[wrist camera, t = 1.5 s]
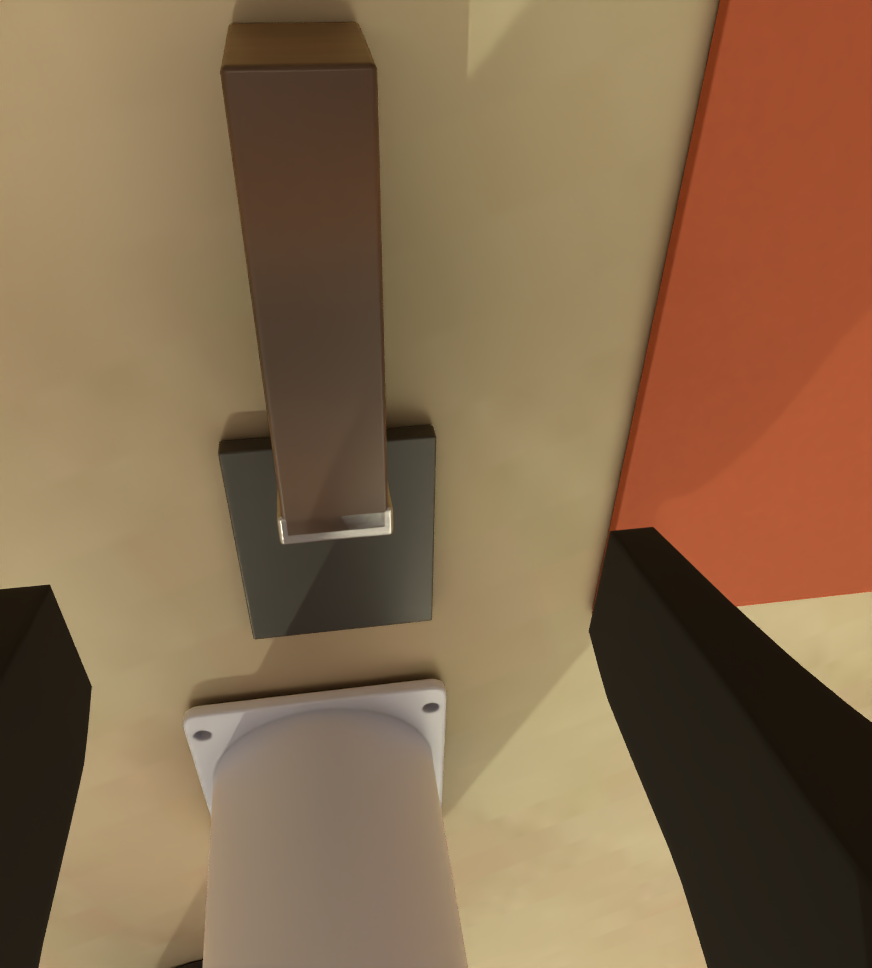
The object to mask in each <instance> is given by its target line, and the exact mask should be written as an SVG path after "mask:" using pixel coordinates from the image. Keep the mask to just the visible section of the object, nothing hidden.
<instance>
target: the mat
mask: <svg viewBox="0 0 872 968" xmlns="http://www.w3.org/2000/svg"><path fill="white" fill-rule="evenodd" d="M646 527H654V528H655V529H656V530H657V531H658V532H659V533H660V534H661V535H662V536H663V537H664V538H665V539H666V540H667V541H668V542H670V543H671V544H672V545H673V546H674V547H675V548H676V549H677V550H678V551H679V552H680V553H681V554H682V555H683V556H684V557H685V558H686V559H687V560H688V561H689V562H690V563H691V564H692V565H693V566H694V567H695V568H696V569H697V570H698V571H699V572H700V573H701V574H702V575H703V576H704V577H706V578H707V579H708V580H709V581H710V582H711V583H712V584H713V585H714V586H715V587H716V588H717V589H718V590H719V591H720V592H721V593H722V594H723V595H724V596H725V597H726V598H727V599H728V600H729V601H730V602H732V603H733V604H734V605H735V606H745V605H754V604H763V603H772V602H781V601H790V600H799V599H808V598H817V597H826V596H835V595H844V594H853V593H862V592H871V591H872V0H720V3H719V8H718V13H717V18H716V22H715V27H714V32H713V37H712V42H711V46H710V51H709V56H708V61H707V66H706V70H705V75H704V80H703V85H702V89H701V94H700V99H699V104H698V109H697V113H696V118H695V123H694V128H693V132H692V137H691V142H690V147H689V152H688V156H687V161H686V166H685V171H684V176H683V180H682V185H681V190H680V195H679V199H678V204H677V209H676V214H675V219H674V223H673V228H672V233H671V238H670V242H669V247H668V252H667V257H666V262H665V266H664V271H663V276H662V281H661V286H660V290H659V295H658V300H657V305H656V309H655V314H654V319H653V324H652V329H651V333H650V338H649V343H648V348H647V352H646V357H645V362H644V367H643V372H642V376H641V381H640V386H639V391H638V395H637V400H636V405H635V410H634V415H633V419H632V424H631V429H630V434H629V439H628V443H627V448H626V453H625V458H624V462H623V467H622V472H621V477H620V482H619V486H618V491H617V496H616V501H615V505H614V510H613V515H612V520H611V525H610V529H609V533H610V531H615V530H625V529H635V528H646ZM608 538H609V534H608ZM607 543H608V539H607ZM606 547H607V544H606ZM605 552H606V549H605ZM604 557H605V553H604ZM603 562H604V558H603ZM602 566H603V563H602ZM601 571H602V568H601ZM600 576H601V572H600ZM599 580H600V577H599ZM598 585H599V582H598ZM597 590H598V587H597ZM596 595H597V592H596ZM595 599H596V596H595ZM594 604H595V601H594ZM593 609H594V606H593ZM592 614H593V611H592Z"/></svg>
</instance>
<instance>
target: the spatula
mask: <svg viewBox="0 0 872 968" xmlns="http://www.w3.org/2000/svg"><path fill="white" fill-rule="evenodd" d="M220 74H221V81H222V88H223V95H224V103H225V110H226V117H227V125H228V132H229V139H230V146H231V154H232V161H233V168H234V175H235V183H236V190H237V197H238V205H239V212H240V219H241V226H242V234H243V241H244V248H245V255H246V263H247V270H248V277H249V285H250V292H251V299H252V306H253V314H254V321H255V328H256V335H257V343H258V350H259V357H260V365H261V372H262V379H263V386H264V394H265V401H266V408H267V415H268V423H269V430H270V438H257V439H244V440H231V441H221V442H219V450H218V455H219V461H220V466H221V471H222V476H223V482H224V487H225V492H226V497H227V503H228V508H229V513H230V518H231V523H232V529H233V534H234V539H235V544H236V550H237V555H238V560H239V565H240V571H241V576H242V581H243V586H244V591H245V597H246V602H247V607H248V612H249V618H250V623H251V628H252V633H253V638H254V639H262V638H272V637H281V636H290V635H300V634H309V633H318V632H327V631H337V630H346V629H355V628H365V627H374V626H383V625H392V624H402V623H411V622H420V621H430V620H432V597H433V553H434V509H435V465H436V435H435V431H434V427H433V426H432V425H428V426H414V427H401V428H388V429H386V400H385V360H384V321H383V281H382V242H381V202H380V163H379V123H378V84H377V67H376V65H375V62H374V60H373V57H372V55H371V52H370V50H369V48H368V45H367V43H366V40H365V38H364V35H363V33H362V30H361V28H360V25H359V24H358V23H356V22H314V23H233V24H231V25H229V28H228V33H227V38H226V43H225V49H224V54H223V59H222V65H221V70H220Z"/></svg>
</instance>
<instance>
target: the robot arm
mask: <svg viewBox="0 0 872 968" xmlns="http://www.w3.org/2000/svg"><path fill="white" fill-rule="evenodd" d="M589 633H590V637H591V641H592V644H593V648H594V652H595V656H596V660H597V664H598V667H599V671H600V674H601V678H602V681H603V685H604V688H605V692H606V695H607V699H608V701H609V704H610V706H611V709H612V711H613V714H614V716H615V719H616V721H617V724H618V726H619V729H620V731H621V734H622V736H623V739H624V741H625V743H626V746H627V748H628V751H629V753H630V756H631V758H632V760H633V763H634V765H635V768H636V770H637V773H638V775H639V777H640V780H641V782H642V785H643V787H644V789H645V792H646V794H647V797H648V799H649V801H650V804H651V806H652V809H653V811H654V813H655V816H656V818H657V821H658V823H659V826H660V828H661V830H662V833H663V835H664V838H665V840H666V842H667V845H668V847H669V850H670V852H671V855H672V858H673V861H674V863H675V866H676V869H677V871H678V874H679V877H680V880H681V882H682V885H683V889H684V892H685V895H686V898H687V902H688V905H689V908H690V911H691V915H692V918H693V921H694V924H695V928H696V931H697V934H698V937H699V941H700V944H701V947H702V950H703V954H704V957H705V960H706V964H707V967H708V968H872V722H870V721H869V720H868V719H866V718H865V717H864V716H863V715H861V714H860V713H859V712H857V711H856V710H855V709H854V708H852V707H851V706H850V705H848V704H847V703H846V702H845V701H843V700H842V699H841V698H840V697H839V696H837V695H836V694H835V693H834V692H833V691H831V690H830V689H829V688H828V687H826V686H825V685H824V684H823V683H822V682H820V681H819V680H818V679H817V678H816V677H814V676H813V675H812V674H811V673H809V672H808V671H807V670H806V669H805V668H803V667H802V666H801V665H800V664H799V663H798V662H796V661H795V660H794V659H793V658H792V657H791V656H790V655H788V654H787V653H786V652H785V651H784V650H783V649H782V648H781V647H779V646H778V645H777V644H776V643H775V642H774V641H773V640H772V639H771V638H770V637H768V636H767V635H766V634H765V633H764V632H763V631H762V630H761V629H760V628H759V627H757V626H756V625H755V624H754V623H753V622H752V621H751V620H750V619H749V618H747V617H746V616H745V615H744V614H743V613H742V612H741V611H740V610H739V609H738V608H737V607H736V606H735V605H734V604H733V603H732V602H730V601H729V600H728V599H727V598H726V597H725V596H724V595H723V594H722V593H721V592H720V591H719V590H718V589H717V588H716V587H715V586H714V585H713V584H712V583H711V582H710V581H709V580H708V579H707V578H706V577H704V576H703V575H702V574H701V573H700V572H699V571H698V570H697V569H696V568H695V567H694V566H693V565H692V564H691V563H690V562H689V561H688V560H687V559H686V558H685V557H684V556H683V555H682V554H681V553H680V552H679V551H678V550H677V549H676V548H675V547H674V546H673V545H672V544H671V543H670V542H668V541H667V540H666V539H665V538H664V537H663V536H662V535H661V534H660V533H659V532H658V531H657V530H656V529H655V528H654V527H646V528H635V529H625V530H615V531H610V533H609V538H608V543H607V547H606V552H605V557H604V562H603V566H602V571H601V576H600V580H599V585H598V590H597V595H596V599H595V604H594V609H593V614H592V618H591V623H590V628H589ZM91 689H92V686H91V683H90V681H89V679H88V676H87V674H86V671H85V669H84V666H83V664H82V662H81V659H80V657H79V654H78V652H77V649H76V647H75V645H74V642H73V640H72V637H71V635H70V632H69V630H68V628H67V625H66V623H65V620H64V618H63V615H62V613H61V610H60V608H59V606H58V603H57V601H56V598H55V596H54V593H53V591H52V589H51V586H50V585H41V586H31V587H20V588H10V589H0V968H38V967H39V962H40V957H41V951H42V946H43V941H44V937H45V933H46V928H47V924H48V920H49V915H50V911H51V907H52V902H53V898H54V894H55V890H56V885H57V881H58V877H59V872H60V868H61V864H62V859H63V855H64V851H65V846H66V842H67V838H68V834H69V829H70V825H71V820H72V816H73V812H74V807H75V803H76V798H77V794H78V789H79V785H80V780H81V776H82V771H83V766H84V760H85V751H86V742H87V733H88V723H89V712H90V700H91ZM446 698H447V694H446V689H445V685H444V683H443V682H442V681H440V680H437V679H423V680H415V681H406V682H397V683H389V684H380V685H372V686H363V687H355V688H346V689H338V690H329V691H321V692H312V693H304V694H295V695H286V696H278V697H269V698H261V699H252V700H244V701H235V702H227V703H218V704H210V705H201V706H196V707H192V708H190V709H189V710H187V711H186V712H185V714H184V720H183V728H184V731H185V735H186V738H187V741H188V744H189V748H190V751H191V754H192V757H193V760H194V764H195V767H196V770H197V773H198V777H199V780H200V783H201V786H202V790H203V793H204V796H205V799H206V803H207V806H208V809H209V812H210V816H211V830H210V847H209V865H208V882H207V899H206V916H205V934H204V951H203V968H468V964H467V958H466V952H465V947H464V941H463V935H462V929H461V923H460V917H459V911H458V906H457V900H456V894H455V888H454V882H453V876H452V870H451V864H450V859H449V853H448V847H447V841H446V835H445V829H444V823H443V818H442V789H443V766H444V744H445V721H446Z"/></svg>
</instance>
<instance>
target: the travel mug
mask: <svg viewBox="0 0 872 968" xmlns="http://www.w3.org/2000/svg"><path fill="white" fill-rule="evenodd" d="M178 968H203V961H198V962H194V963H191V964H187V965H184V966H181V967H178Z"/></svg>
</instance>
